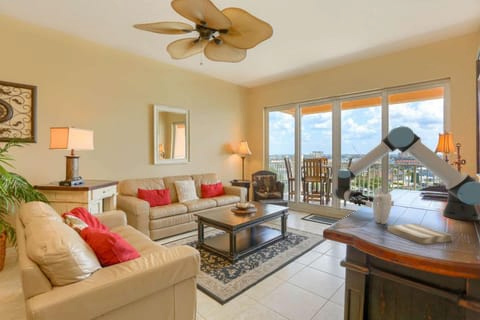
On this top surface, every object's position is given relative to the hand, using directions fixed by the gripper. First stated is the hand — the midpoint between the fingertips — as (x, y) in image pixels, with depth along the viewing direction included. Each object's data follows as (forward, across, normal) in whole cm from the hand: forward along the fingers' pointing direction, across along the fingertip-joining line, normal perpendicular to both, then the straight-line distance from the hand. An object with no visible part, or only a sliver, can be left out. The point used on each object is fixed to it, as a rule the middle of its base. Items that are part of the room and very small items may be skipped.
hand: (382, 204), depth 124 cm
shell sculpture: (-1, 0, -10) cm, 10 cm away
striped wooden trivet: (+19, 0, -10) cm, 22 cm away
